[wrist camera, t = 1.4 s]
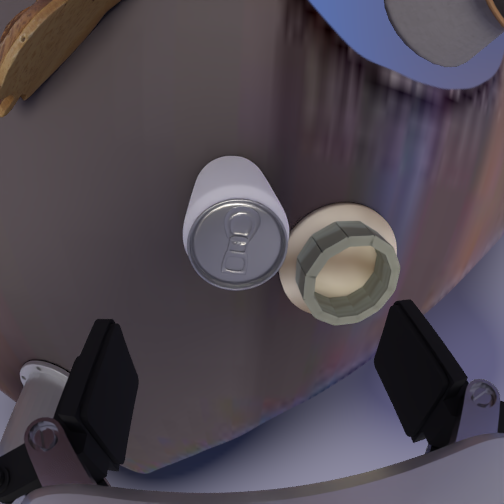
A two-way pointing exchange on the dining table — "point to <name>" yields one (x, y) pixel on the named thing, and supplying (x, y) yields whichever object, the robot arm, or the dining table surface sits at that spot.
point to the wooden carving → (43, 43)
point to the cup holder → (340, 263)
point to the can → (235, 225)
